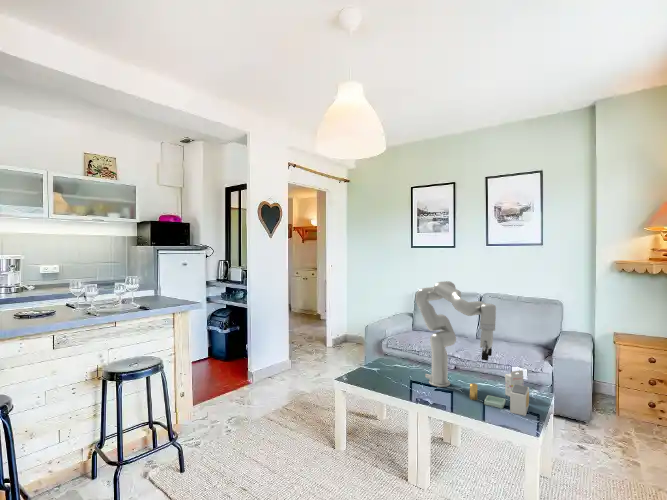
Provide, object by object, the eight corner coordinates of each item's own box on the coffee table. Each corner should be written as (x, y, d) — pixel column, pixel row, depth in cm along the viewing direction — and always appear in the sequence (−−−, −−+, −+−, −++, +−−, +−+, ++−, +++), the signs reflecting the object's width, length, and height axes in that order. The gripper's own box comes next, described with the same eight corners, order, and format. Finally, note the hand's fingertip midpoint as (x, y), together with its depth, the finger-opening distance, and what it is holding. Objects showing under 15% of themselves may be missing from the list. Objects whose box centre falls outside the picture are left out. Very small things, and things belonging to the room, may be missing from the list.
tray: (484, 404, 195) (484, 400, 195) (487, 398, 203) (487, 395, 203) (502, 408, 190) (502, 404, 190) (505, 402, 198) (505, 398, 198)
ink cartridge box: (517, 392, 211) (517, 367, 211) (523, 396, 206) (523, 370, 206) (504, 394, 209) (504, 368, 209) (511, 397, 204) (511, 371, 204)
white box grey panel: (510, 412, 186) (510, 391, 186) (514, 402, 198) (514, 383, 198) (526, 416, 182) (526, 395, 182) (529, 406, 193) (529, 386, 193)
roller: (468, 399, 202) (469, 384, 202) (470, 396, 206) (470, 382, 205) (476, 400, 200) (476, 386, 200) (478, 398, 203) (478, 384, 203)
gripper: (483, 322, 208) (482, 352, 208) (477, 328, 193) (475, 360, 194) (497, 324, 204) (496, 354, 204) (492, 330, 189) (491, 363, 190)
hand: (486, 357), depth 199 cm, fingers open, 9 cm apart
